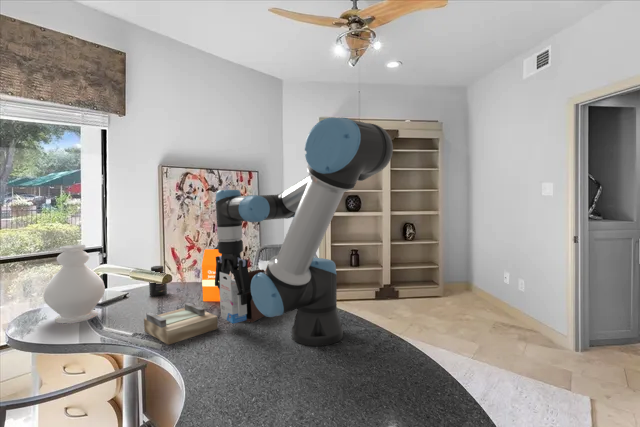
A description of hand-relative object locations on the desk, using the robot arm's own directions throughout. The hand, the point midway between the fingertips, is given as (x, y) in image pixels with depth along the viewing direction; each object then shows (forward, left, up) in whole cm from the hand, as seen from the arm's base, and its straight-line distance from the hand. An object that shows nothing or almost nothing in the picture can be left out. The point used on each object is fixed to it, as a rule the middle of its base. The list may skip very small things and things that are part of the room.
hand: (233, 311), depth 116 cm
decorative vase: (+52, +29, -6) cm, 60 cm away
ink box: (0, 0, -3) cm, 3 cm away
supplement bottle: (+57, -2, -6) cm, 58 cm away
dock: (+12, +11, -6) cm, 18 cm away
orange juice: (+33, -15, -6) cm, 37 cm away
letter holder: (+7, -16, -6) cm, 18 cm away
